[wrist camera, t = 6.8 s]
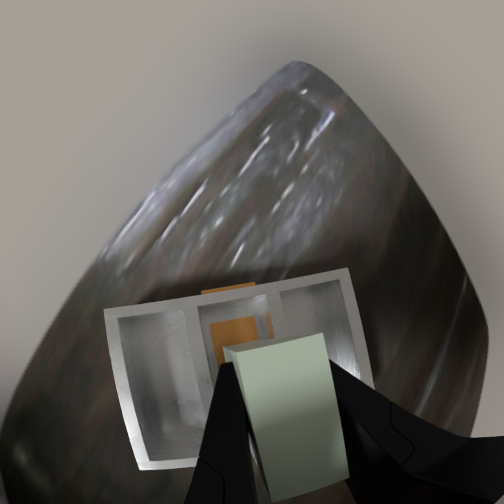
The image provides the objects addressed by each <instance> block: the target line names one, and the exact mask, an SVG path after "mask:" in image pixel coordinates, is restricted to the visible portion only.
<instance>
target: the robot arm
mask: <svg viewBox="0 0 504 504" xmlns="http://www.w3.org/2000/svg"><path fill="white" fill-rule="evenodd" d="M328 359H329V358H328ZM329 364H330V369H331V374H332V379H333V384H334V389H335V394H336V399H337V404H338V410H339V415H340V421H341V427H342V433H343V439H344V445H345V451H346V457H347V464H348V471H349V478H347V479H344V480H345V482H346V484H347V486H348V487H349V489H350V491H351V493H352V495H353V497H354V499H355V501H356V503H357V504H504V436H497V437H481V438H480V437H479V438H470V437H463V436H459V435H456V434H454V433H451V432H449V431H447V430H445V429H442V428H440V427H438V426H436V425H434V424H432V423H429V422H427V421H425V420H423V419H421V418H419V417H417V416H416V415H414V414H412V413H410V412H408V411H407V410H405V409H403V408H402V407H400V406H399V405H397V404H396V403H394V402H392V401H391V402H390V400H389V399H388V398H386V397H385V396H383V395H382V394H380V393H379V392H377V391H376V390H374V389H373V388H371V387H370V386H368V385H367V384H365V383H364V382H362V381H361V380H359V379H358V378H356V377H355V376H353V375H352V374H351V373H349V372H348V371H346V370H345V369H343V368H342V367H340V366H339V365H338V364H336V363H335V362H333V361H332V360H330V359H329ZM183 504H258V501H257V494H256V486H255V479H254V471H253V464H252V456H251V448H250V440H249V432H248V425H247V418H246V412H245V405H244V399H243V395H242V392H241V388H240V385H239V382H238V378H237V375H236V371H235V368H234V364H233V362H232V361H230V362H225V363H221V364H220V366H219V370H218V375H217V379H216V383H215V387H214V391H213V396H212V400H211V404H210V408H209V413H208V417H207V421H206V425H205V429H204V434H203V438H202V442H201V446H200V451H199V457H198V459H197V463H196V467H195V471H194V475H193V478H192V482H191V485H190V488H189V490H188V493H187V496H186V499H185V501H184V503H183Z"/></svg>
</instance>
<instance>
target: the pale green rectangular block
mask: <svg viewBox="0 0 504 504" xmlns="http://www.w3.org/2000/svg"><path fill="white" fill-rule="evenodd" d="M223 351H224V356H225V360H226V362H230V361H232V362H233V364H234V368H235V371H236V375H237V378H238V382H239V385H240V388H241V392H242V395H243V399H244V405H245V412H246V418H247V425H248V432H249V440H250V448H251V452H252V454H253V457H254V459H255V462H256V465H257V467H258V470H259V472H260V475H261V477H262V479H263V482H264V484H265V487H266V489H267V491H268V494H269V496H270V499H271V501H272V502H276V501H280V500H284V499H287V498H291V497H294V496H298V495H301V494H304V493H308V492H311V491H314V490H317V489H320V488H323V487H325V486H328V485H331V484H334V483H336V482H339V481H342V480H344V479H347V478H349V471H348V464H347V457H346V451H345V445H344V439H343V433H342V427H341V421H340V415H339V410H338V404H337V399H336V394H335V389H334V384H333V379H332V374H331V369H330V364H329V359H328V354H327V350H326V345H325V340H324V336H323V333H316V334H308V335H300V336H291V337H281V338H272V339H261V340H254V341H249V342H244V343H239V344H234V345H229V346H223Z"/></svg>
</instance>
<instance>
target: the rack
mask: <svg viewBox="0 0 504 504" xmlns="http://www.w3.org/2000/svg"><path fill="white" fill-rule="evenodd" d="M201 294H202V295H196V296H190V297H184V298H178V299H171V300H165V301H158V302H151V303H145V304H138V305H131V306H124V307H116V308H109V309H104V316H105V324H106V331H107V338H108V345H109V351H110V357H111V363H112V368H113V373H114V378H115V383H116V388H117V392H118V396H119V401H120V405H121V409H122V413H123V417H124V420H125V424H126V428H127V431H128V435H129V438H130V441H131V445H132V448H133V451H134V454H135V457H136V460H137V463H138V466H139V469H140V470H156V469H172V468H184V467H193V466H196V463H197V459H198V457H199V451H200V446H201V442H202V438H203V434H204V429H205V425H206V421H207V417H208V413H209V408H210V404H211V400H212V396H213V391H214V387H215V383H216V379H217V375H218V370H219V366H220V364H221V363H225V362H226V360H225V356H224V351H223V346H229V345H234V344H239V343H244V342H249V341H254V340H261V339H272V338H281V337H291V336H300V335H308V334H316V333H323V336H324V340H325V345H326V350H327V354H328V358H329V359H330V360H332V361H333V362H335V363H336V364H338V365H339V366H340V367H342V368H343V369H345V370H346V371H348V372H349V373H351V374H352V375H353V376H355V377H356V378H358V379H359V380H361V381H362V382H364V383H365V384H367V385H368V386H370V387H371V388H373V389H374V384H373V378H372V372H371V367H370V361H369V356H368V351H367V346H366V341H365V337H364V332H363V328H362V323H361V319H360V314H359V310H358V306H357V302H356V298H355V294H354V290H353V286H352V282H351V278H350V274H349V270H348V267H347V268H342V269H338V270H333V271H328V272H323V273H318V274H313V275H308V276H303V277H297V278H292V279H287V280H282V281H276V282H271V283H266V284H260V285H255V282H251V283H245V284H239V285H234V286H228V287H222V288H216V289H210V290H204V291H201ZM374 390H375V389H374ZM251 456H252V457H253V454H252V452H251Z"/></svg>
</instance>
